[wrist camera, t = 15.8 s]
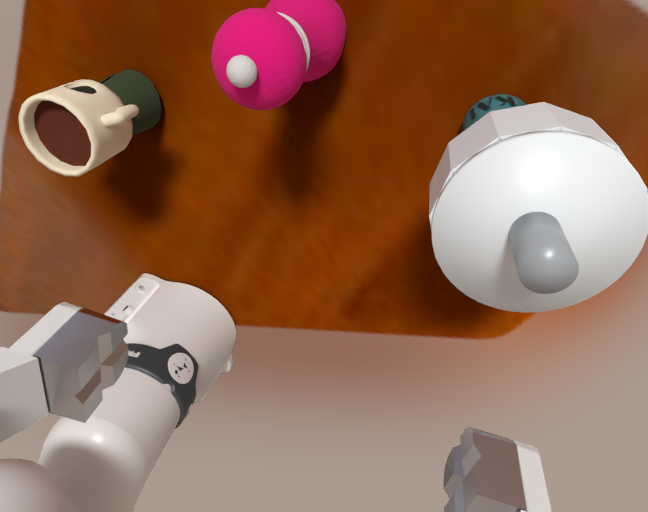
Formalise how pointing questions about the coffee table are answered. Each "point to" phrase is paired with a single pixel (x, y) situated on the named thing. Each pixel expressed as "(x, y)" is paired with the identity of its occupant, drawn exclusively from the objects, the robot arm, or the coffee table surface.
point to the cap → (535, 209)
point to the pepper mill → (277, 50)
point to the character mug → (88, 120)
